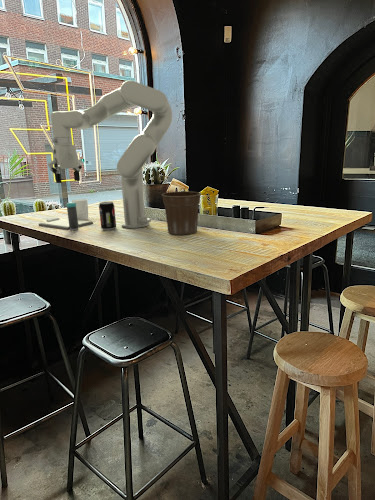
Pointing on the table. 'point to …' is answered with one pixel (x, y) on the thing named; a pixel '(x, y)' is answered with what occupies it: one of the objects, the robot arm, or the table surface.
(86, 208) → the white cup
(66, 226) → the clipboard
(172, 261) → the table surface
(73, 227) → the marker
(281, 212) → the table surface
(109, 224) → the beverage can
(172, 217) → the plant pot
